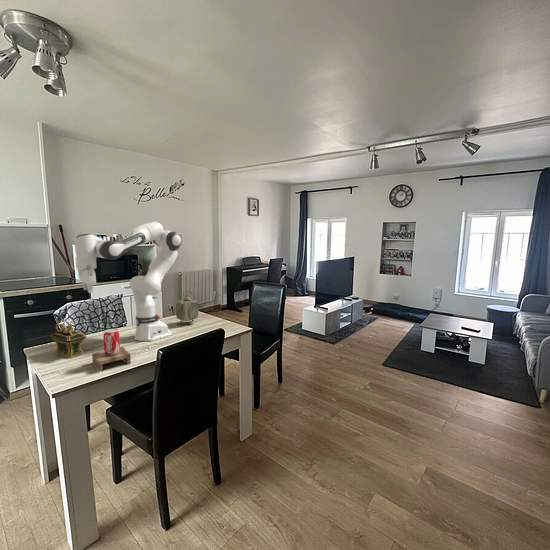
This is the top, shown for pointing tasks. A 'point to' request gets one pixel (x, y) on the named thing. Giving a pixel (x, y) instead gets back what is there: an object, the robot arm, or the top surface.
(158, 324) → the robot arm
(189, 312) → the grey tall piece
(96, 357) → the walnut shelf
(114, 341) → the soda can
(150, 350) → the top surface
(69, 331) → the decorative box
